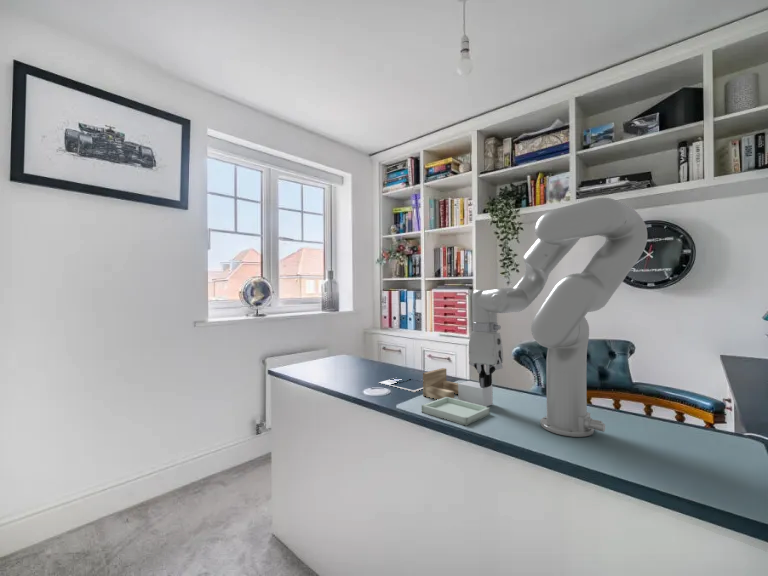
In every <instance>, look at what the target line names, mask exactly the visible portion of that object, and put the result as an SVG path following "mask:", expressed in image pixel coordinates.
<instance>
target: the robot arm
mask: <svg viewBox="0 0 768 576" xmlns="http://www.w3.org/2000/svg"><path fill="white" fill-rule="evenodd" d="M646 225H647V224H646V222H645V221H644V220H643V218H642V216H641V215H640V214H639V213H638V212H637V210H635V209H634V208H633V207H631V206H630V205H628V204H625V203H624V202H621V201H619V200H617V199H614V198H611V197H598V198H592V199H589V200H584V201H581V202H577V203H573V204H569V205H566V206H561V207H558V208H554V209H551V210H549V211H546V212H544V213H543V214H541V216H540V217H539V218H538V219H537V221H536V223H535V227H534V231H535V235H536V237H537V239H536V240H535V241H534V243H533V244H532V245H531V246H530V247H529V249H528V250H527V251H526V252H525V254H524V255H523V261H524V263H525V271H524V273H523V276H521V278H520V280H519V281H518V282H517V283H516V285H515V286H514V287H499V288H494V289H491V288H489V289H488V288H487V289H485V288H482V289H480V288H479V289H475V290H473V291H472V294H471V300H472V301H471V306H472V308H471V309H472V311H471V313H472V314H471V315H472V320H471V321H472V331H471V332H470V336H469V341H468V360H469V361H468V365H469V366H471V367H474V369H475V370H476V371H477V373H478V383H480V378H483V377H484V386H485V387H489V386H491V385H493V384H492V383H493V374H494V372H496V371H497V370H502V369H503V368H504V367H503V363H504V350H503V342H502V337H501V333H500V332H498V330H501V325H500V324H498V314H508V313H509V314H510V313H519V312H522V311H524V310H526V309H527V308H528V307H529V306H531V304H532V303H533V302H534V301H535V300H536V299H537V298H538V296H539V295H540V294H541V293H542V291H543V289H544V288H545V287H546V283H547V281H548V279H549V275H550V274H551V273H552V271H553V270H554V269H555V268H556V267H557V265H558V264H559V263H560V262H561V261H562V260H563V259H564V258H565V256H566V255H567V254H568V253H569V252H570V251H571V250H572V248H573V247H574V246H575V245H576V244H577V243H578V242H579V240H580V239H583V238H587V237H595V236H601V237H604V238H605V242H603V243H604V244H602V246H601V247H600V248H599V249H598V250H597V251H596V252H595V254H594V255H593V256H592V257H591V259H590V261H589V262H588V264H587V265H586V266H585V268H584V269H583V270H582V271H581V273H580V272H579V273H578V272H577V273H572V274H568V275H566V276H564V277H563V278H561V279H560V280H559V281H558V282H557V283H556V284H555V285H554V287H553V288H552V289H551V290H550V293H549V294H548V295H547V297H546V298H545V300H544V302H543V303H542V305H541V306H540V308H538V310H537V312H536V313H535V315H534V317H533V319H532V322H531V327H530V331H531V332H530V333H531V335H532V338H533V339H534V341H535V342H536V343H537V344H539V346H542V347H544V348H547V352H546V371H545V372H546V373H545V374H546V416H544V417H542V418H541V419H540V426H541V427H542V428H543V429H545V430H546V431H548V432H551V433H554V434H557V435H561V436H566V437H575V438H576V437H577V438H582V437H583V438H584V437H590V436H592V435H593V434H594V431H595V430H596V431H599V432H603V433H604V432H605V431H606V423H603V421H602V420H598V419H593V417H591V412H588V409H587V407H588V406H587V405H588V402H587V399H588V398H587V371H588V370H587V364H588V363H587V360H588V359H587V357H588V356H587V355H588V346H589V339H590V326H589V322H588V319H587V318H586V317H585V316H586V315H587V314H588V313H591V312H592V313H593V312H596V311H599V310H601V309H603V308H604V307H605V306H606V305H607V304H608V302H609V301H610V300H611V298H612V297H613V295H614V293H615V292H616V291H617V289H619V287H620V285H622V284H623V281H624V280H625V278H627V275H628V274H629V273H630V271H631V270H632V269H633V267H634V266H635V265H636V263H637V262H638V261H639V259H640V258H641V256H642V254H643V252H644V251H645V248H646V246H647V242H648V229H647V226H646ZM480 386H481V385H480Z"/></svg>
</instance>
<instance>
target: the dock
mask: <svg viewBox="0 0 768 576" xmlns="http://www.w3.org/2000/svg"><path fill="white" fill-rule="evenodd" d="M422 380H423V382H422V388H423V390H422V396H423V397H424V396H426V397H425V398H428V397H430V398H429V399H432V398H434V399H433V400H436V399H441V398H444V397H450V398H454V399H455V394H458V384H459V383H458V382H453V381H449V380H447V368H446V367H445V368H444V367H442V368H437V369H433V370H430V371H425V372H422ZM454 393H455V394H454Z"/></svg>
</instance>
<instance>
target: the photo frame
mask: <svg viewBox="0 0 768 576" xmlns="http://www.w3.org/2000/svg"><path fill="white" fill-rule="evenodd" d="M393 379H394V378H393ZM399 380H402V379H394V380H390V379H387V380H383V381H380V382H379V381H378V384H379V383H381V384H380V385H382V384H385V385H384V386H386V385H389V386H388V387H390V386H393V387H392V388H394V387H397V388H396V389H398V388H400V389H399V390H402V389H404V390H403V391H406V390H408V391H407V392H410V391H411V393H417V392H420V391H422V390H421V389H423V387H419V388H417V389H409V388H406V387H401V386H397V385H395V384H394V383H397V382H396V381H399ZM391 384H394V385H391ZM419 390H420V391H419ZM416 391H417V392H416Z"/></svg>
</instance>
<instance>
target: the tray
mask: <svg viewBox="0 0 768 576" xmlns="http://www.w3.org/2000/svg"><path fill="white" fill-rule="evenodd" d="M421 413H424V414H426V415H430V416H433V417H437V418H440V419H443V418H444V420H446V419H447V420H448V421H450V422H453V423H457V424H459V425H463V426H468V425H471V424H473V423H475V422H476V421H479V420H481V419H483V418H486V417H488V416H490V415H491V407H489V406H487V407H485V406H481V405H477V404H473V403H469V402H466V401H462V400H458V399H457V398H455V397H454V398H450V397H444V398H441V399H438V400H436V399H435V400H433V401H430V402H427V403H424V404H421Z"/></svg>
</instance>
